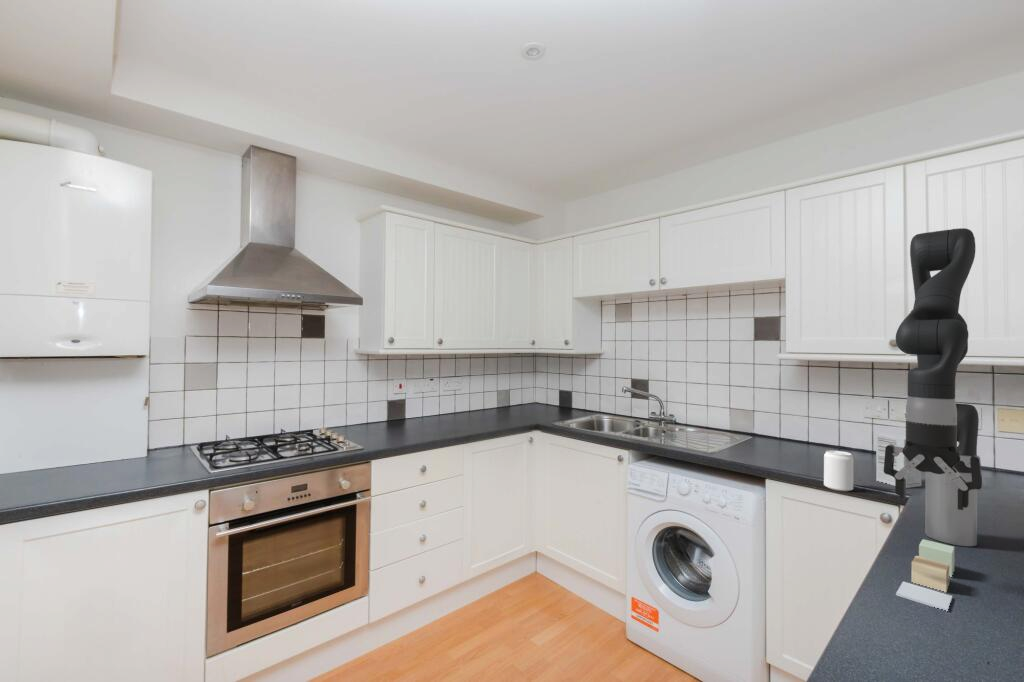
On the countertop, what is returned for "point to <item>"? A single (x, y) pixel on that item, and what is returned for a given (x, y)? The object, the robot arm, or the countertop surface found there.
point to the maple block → (930, 573)
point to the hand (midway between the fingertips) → (930, 503)
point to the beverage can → (838, 470)
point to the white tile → (924, 596)
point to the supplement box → (899, 462)
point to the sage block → (938, 553)
